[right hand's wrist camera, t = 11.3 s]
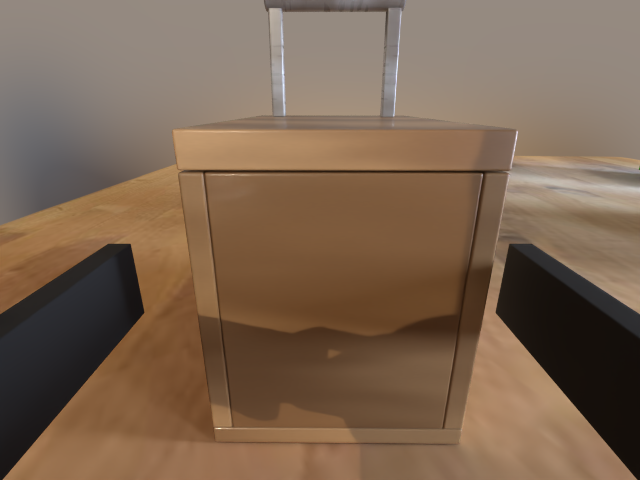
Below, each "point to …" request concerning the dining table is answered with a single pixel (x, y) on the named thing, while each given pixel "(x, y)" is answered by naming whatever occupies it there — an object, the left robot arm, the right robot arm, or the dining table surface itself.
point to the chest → (340, 299)
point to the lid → (342, 123)
